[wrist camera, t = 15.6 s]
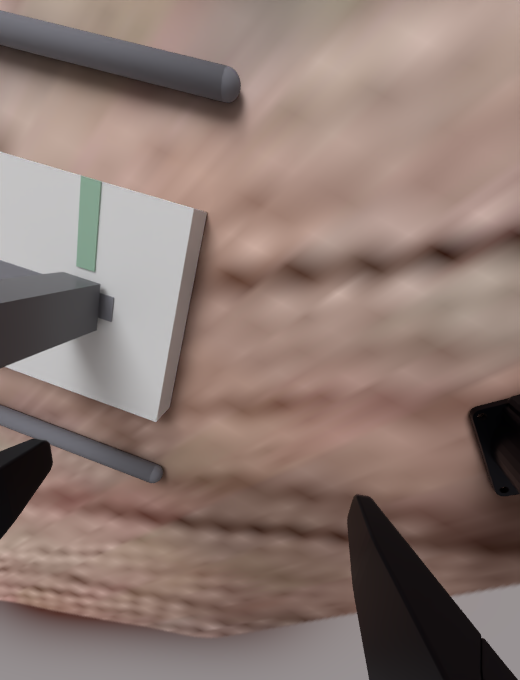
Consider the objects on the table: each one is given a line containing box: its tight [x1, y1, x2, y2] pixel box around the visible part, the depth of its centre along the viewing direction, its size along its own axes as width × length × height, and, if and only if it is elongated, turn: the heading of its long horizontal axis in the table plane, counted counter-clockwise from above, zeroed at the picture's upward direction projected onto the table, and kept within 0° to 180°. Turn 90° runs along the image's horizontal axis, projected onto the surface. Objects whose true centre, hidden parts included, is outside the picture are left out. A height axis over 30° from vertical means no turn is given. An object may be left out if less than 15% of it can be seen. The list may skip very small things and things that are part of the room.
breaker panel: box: [0, 152, 207, 422], centre depth 20 cm, size 20×14×2 cm
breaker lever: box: [0, 272, 101, 368], centre depth 14 cm, size 2×3×10 cm
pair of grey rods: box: [0, 10, 241, 483], centre depth 20 cm, size 22×28×2 cm
